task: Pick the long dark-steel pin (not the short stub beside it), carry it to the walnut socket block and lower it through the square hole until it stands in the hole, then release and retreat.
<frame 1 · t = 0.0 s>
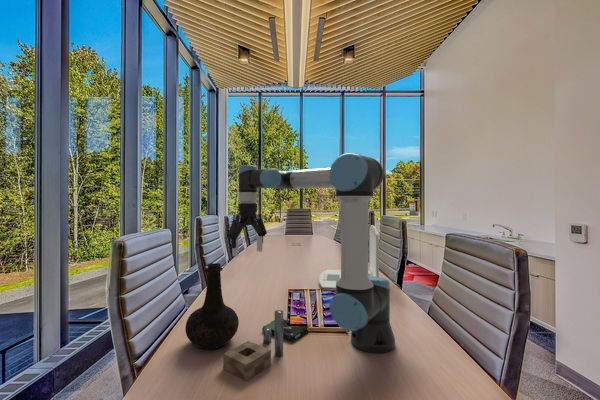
hand: (248, 253, 123), 28 cm above the table, tool pointing down, fingers open, 13 cm apart
short pin: (267, 342, 105), on the table
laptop: (346, 282, 181), on the table
long pin: (278, 354, 96), on the table
socket block: (247, 366, 89), on the table
disk drive: (285, 333, 113), on the table
glass bottle: (212, 343, 104), on the table
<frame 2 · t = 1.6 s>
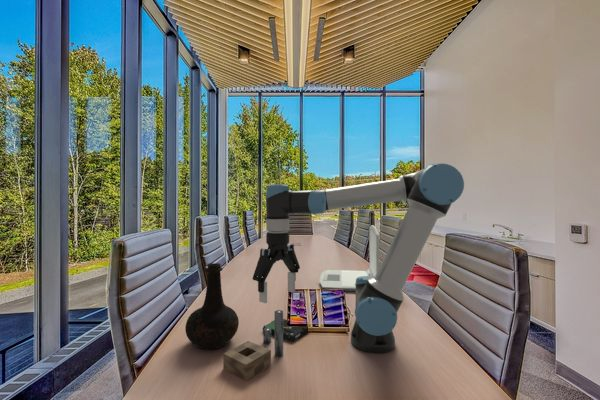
hand: (278, 296, 97), 19 cm above the table, tool pointing down, fingers open, 13 cm apart
nothing on the table moved.
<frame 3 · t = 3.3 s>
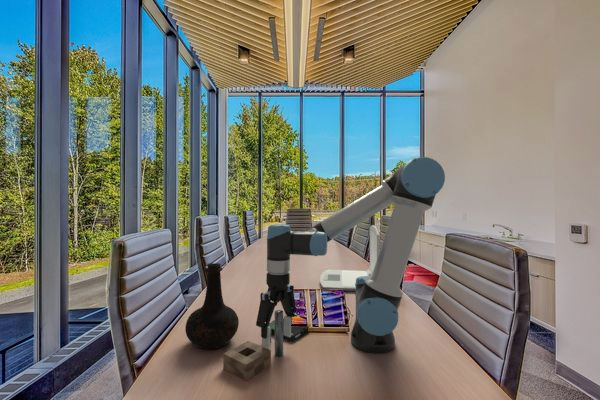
hand: (277, 341, 96), 5 cm above the table, tool pointing down, fingers open, 10 cm apart
nothing on the table moved.
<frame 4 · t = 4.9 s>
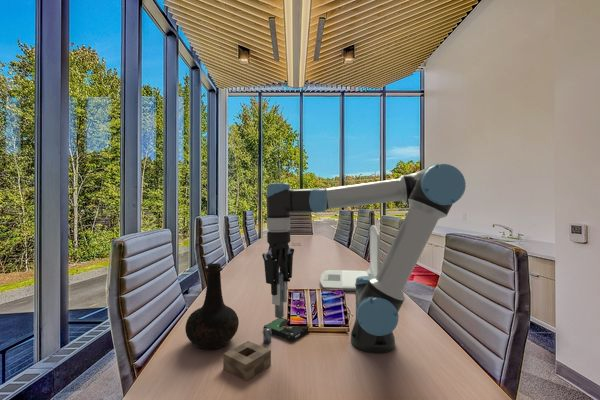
hand: (279, 302, 96), 17 cm above the table, tool pointing down, fingers closed on long pin, 3 cm apart
long pin: (279, 316, 96), point 12 cm above the table, touching gripper
everything else where it was.
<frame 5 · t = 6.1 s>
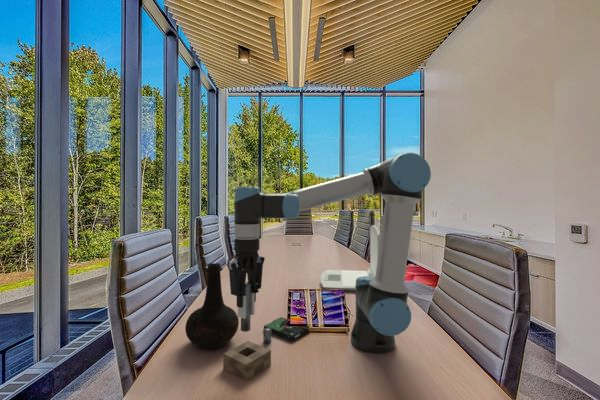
hand: (246, 315, 89), 16 cm above the table, tool pointing down, fingers closed on long pin, 3 cm apart
long pin: (245, 329, 90), point 11 cm above the table, touching gripper
everything else where it was.
when the fingers open (5 cm above the table, at t = 7.7 s): long pin stays where it is, resting in socket block.
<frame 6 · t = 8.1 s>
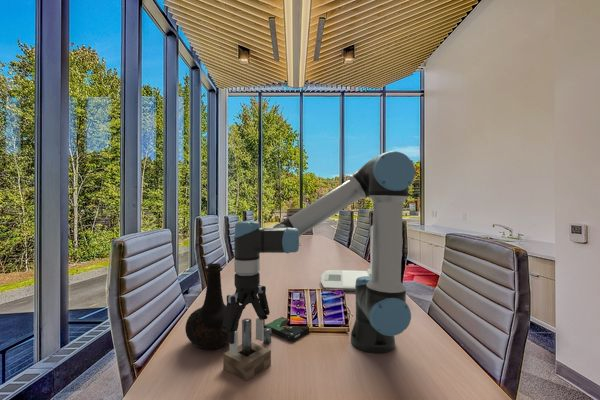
hand: (247, 346, 89), 6 cm above the table, tool pointing down, fingers open, 10 cm apart
long pin: (246, 366, 90), resting in socket block
everything else where it was.
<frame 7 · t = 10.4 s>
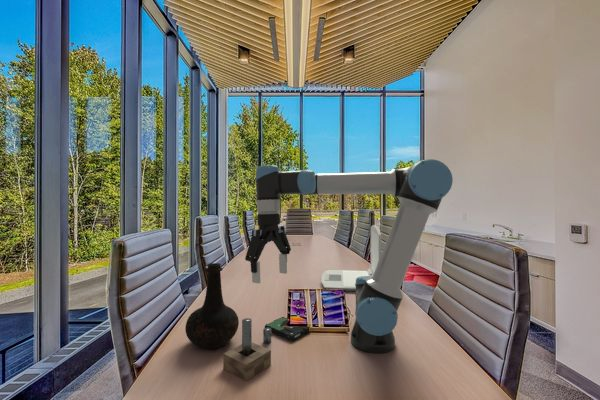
hand: (270, 277, 97), 25 cm above the table, tool pointing down, fingers open, 13 cm apart
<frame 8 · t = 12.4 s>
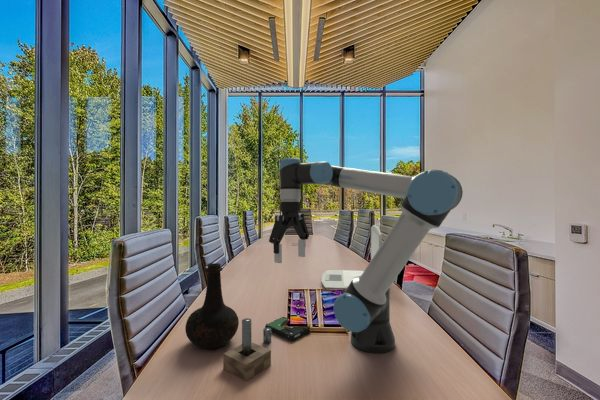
hand: (290, 259, 107), 29 cm above the table, tool pointing down, fingers open, 13 cm apart
at the end: long pin 0.2 cm off-centre on the socket block, point 0.0 cm above the socket block's base; long pin tilted 0°; the gripper is holding nothing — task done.
